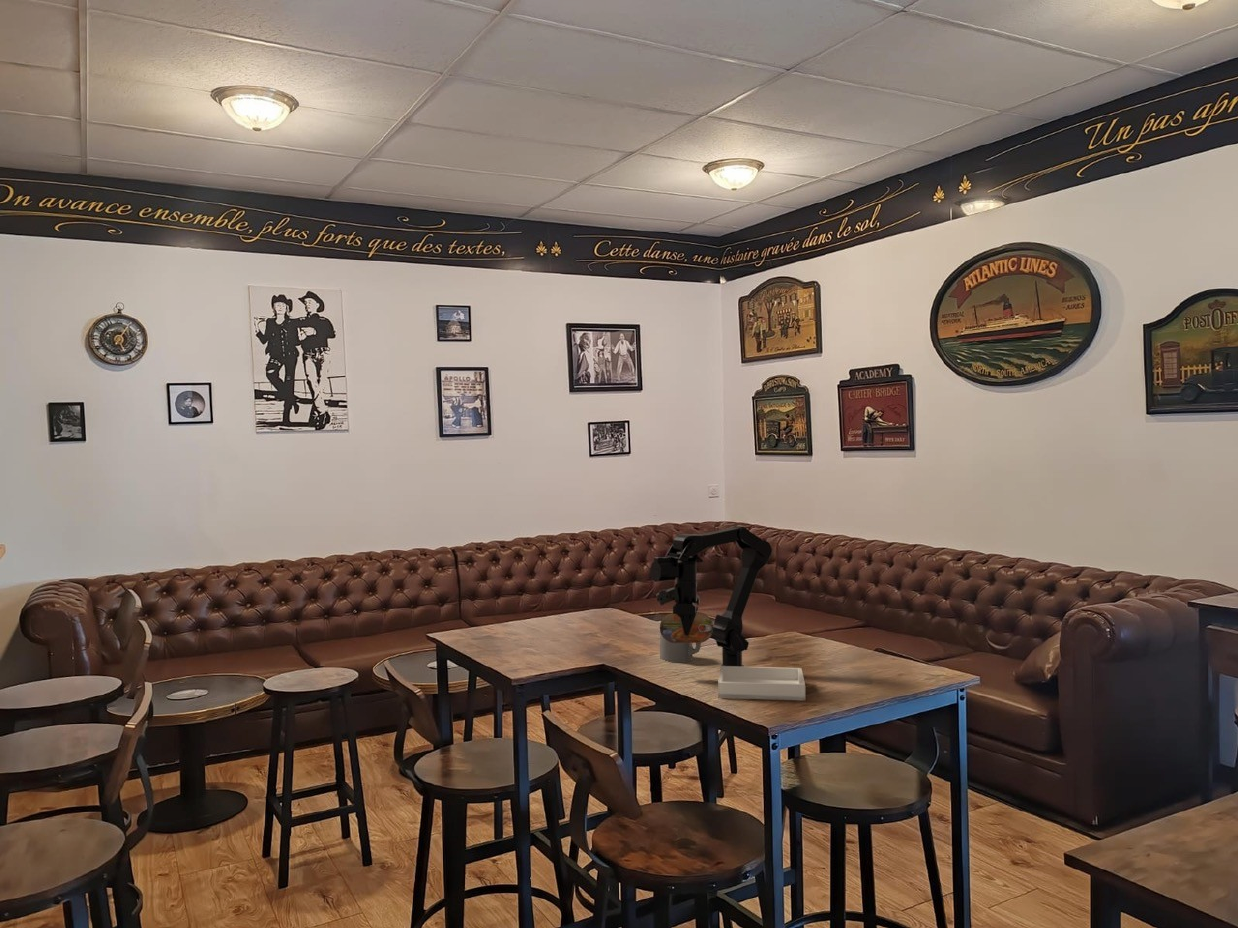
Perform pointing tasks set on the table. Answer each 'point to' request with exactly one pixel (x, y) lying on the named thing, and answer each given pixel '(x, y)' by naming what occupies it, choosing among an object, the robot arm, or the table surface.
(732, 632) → the robot arm
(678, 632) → the tin
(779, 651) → the table surface
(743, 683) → the tray
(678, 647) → the coffee mug
